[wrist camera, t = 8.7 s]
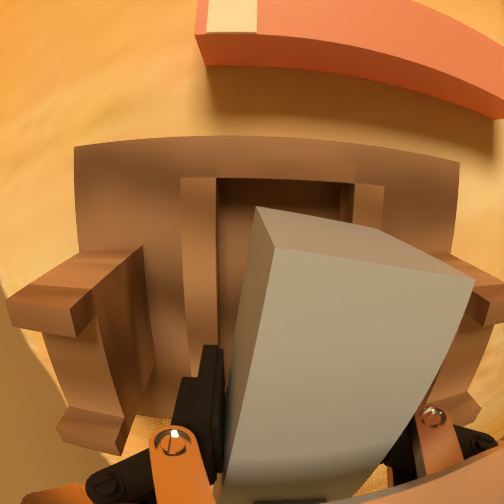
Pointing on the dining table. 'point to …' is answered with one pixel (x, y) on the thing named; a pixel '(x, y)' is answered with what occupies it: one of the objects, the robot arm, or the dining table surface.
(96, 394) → the jig
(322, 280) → the grey rectangular block
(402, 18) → the orange banded bar
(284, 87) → the dining table surface
